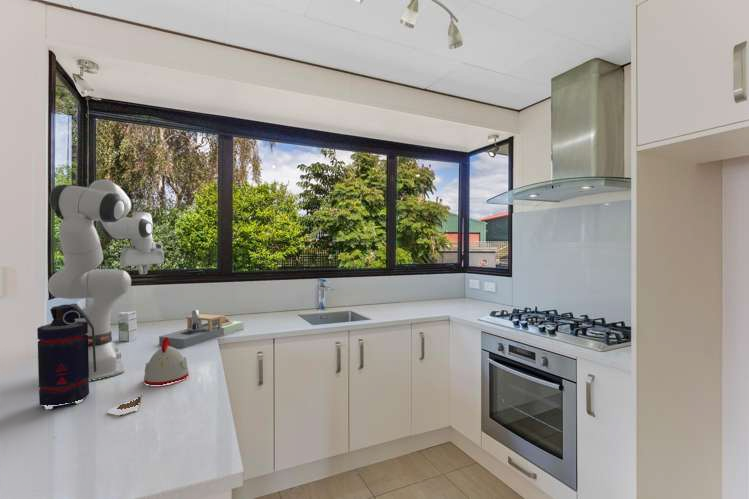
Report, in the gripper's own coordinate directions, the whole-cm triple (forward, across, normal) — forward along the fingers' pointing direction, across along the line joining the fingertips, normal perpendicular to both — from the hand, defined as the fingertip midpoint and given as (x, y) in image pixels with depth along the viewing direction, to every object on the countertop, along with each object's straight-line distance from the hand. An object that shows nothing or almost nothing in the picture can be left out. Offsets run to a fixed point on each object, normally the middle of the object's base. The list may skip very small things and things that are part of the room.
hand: (143, 274), depth 178 cm
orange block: (+30, +32, -16) cm, 46 cm away
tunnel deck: (+34, +22, -16) cm, 43 cm away
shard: (+35, -51, -60) cm, 86 cm away
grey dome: (+34, -29, -51) cm, 68 cm away
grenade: (+34, -54, -39) cm, 75 cm away
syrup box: (+34, +2, +15) cm, 38 cm away
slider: (+30, +26, -15) cm, 42 cm away
